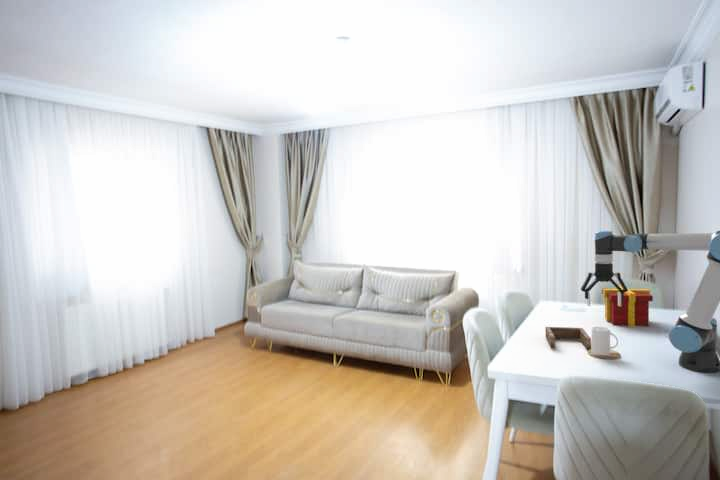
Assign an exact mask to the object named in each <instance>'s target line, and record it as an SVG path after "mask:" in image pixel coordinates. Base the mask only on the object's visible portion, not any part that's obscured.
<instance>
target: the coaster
mask: <svg viewBox="0 0 720 480" xmlns="http://www.w3.org/2000/svg"><path fill="white" fill-rule="evenodd" d="M591 349H592V348H591ZM591 349H590V350H587V354H588V356H590V357H593V358H595V359H600V360H617V359H620V358H621V353H619V352H618V351H616V350H613V349H610V352H611V354H609V355H597V354H594V353H592V352H591Z"/></svg>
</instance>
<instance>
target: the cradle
mask: <svg viewBox="0 0 720 480" xmlns="http://www.w3.org/2000/svg"><path fill="white" fill-rule="evenodd" d="M546 338H547V339H546ZM555 338H562V339H561V340H579V341H580V342H581V344H582V345H583V347H584V348H585V350H586V351H588V350H590V349H592V337H590V336H589V334H588V333H587V332H586V330H585V329H584V328H583V327H564V326H545V339H546V341H547V340H548V341H547V343H548V346H549V347H551V348H550V349H552V348H555V349H556V339H555Z"/></svg>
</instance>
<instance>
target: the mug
mask: <svg viewBox="0 0 720 480" xmlns="http://www.w3.org/2000/svg"><path fill="white" fill-rule="evenodd" d="M611 336H612V337H614V338H615V340H616V343H615V344H614V345H612V346H611ZM618 344H619V340H618V338H617V336H616V335H615V334H614V333H613V332H611V329H610V328H608V327H604V326H592V327H591V352H592V353H594V354H597V355H609V354H611V352H610V350H613V349H615V348H616V347H617V345H618Z"/></svg>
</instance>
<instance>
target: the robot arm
mask: <svg viewBox="0 0 720 480" xmlns="http://www.w3.org/2000/svg"><path fill="white" fill-rule="evenodd" d="M640 250H653V251H654V250H656V251H657V250H658V251H659V250H660V251H661V250H662V251H704V252H705V251H707V252H708V253H707V254H706V255H707V256H706V260H707V261H708V264H707V267H706V269H705V271H704V273H703V274H702V278H701V280H700V281H699V283H698V286H697V288H696V291H695V292H694V295H693V297H692V299H691V301H690V304H689V305H688V308H687V310H686V312H685V313H683V314H680V315H679V316H678V319H677V321H676V323H675V326H673V327H671V329H670V330H669V332H668V341H669V342H670V344H671V345H672V346H673V348H675V349H676V350H678V351H679V352H681V353H680V355H679V358H678V365H679V366H681V367H682V368H685V369H687V370H691V371H694V372H695V371H696V372H702V373H719V372H720V358H719V356H718V353H717V345H718V344H717V343H718V342H717V338H718V334H717V332H718V331H717V330H718V322H717V319H716V318H715V317H714V315H715V313H716V311H717V309H718V307H719V304H720V230H717V231H715V232H713V233H712V232H710V233H708V232H707V233H699V232H698V233H696V232H695V233H692V232H689V233H641V232H640V233H634V234H627V235H614V234H613V231H610V230H599V231H596V232H595V234H594V261H595V263H594V272H590V271H589V272H587V276H586V278H585V281H584V282H583V284H582V286H581V288H580V291H581V292H584V298H585V299H586V301H587V302H586V303H587V304H586V305H587V306H588V307H589V306H591V292H590V291H591V290H592V288H594V287H595V286H596V285H597V284H598V283H599V282H600V283H608V282H610V283H611V284H612V285H613V286H614V287H615V289H618V290H619V291H620V292H618V306H621V299H623V293H624V292H627V291H628V289H629V288H628V287H627V286H626V285H625V283H624V280H623V279H622V277H621V273H620V272H618V271H616V272H614V270H613V268H614V267H613V261H614V260H613V258H614V257H613V252H624V253H625V252H626V253H637V252H640ZM593 277H595V278H594V279H593V281H591V279H592V278H593ZM613 277H614V278H616V279H617V281H618V282H619V284H620V285H619V284H617V283H616V281H615V280H614V279H613ZM590 281H591V283H590ZM589 283H590V284H589ZM619 286H622V288H623V289H621V288H620V287H619Z"/></svg>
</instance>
